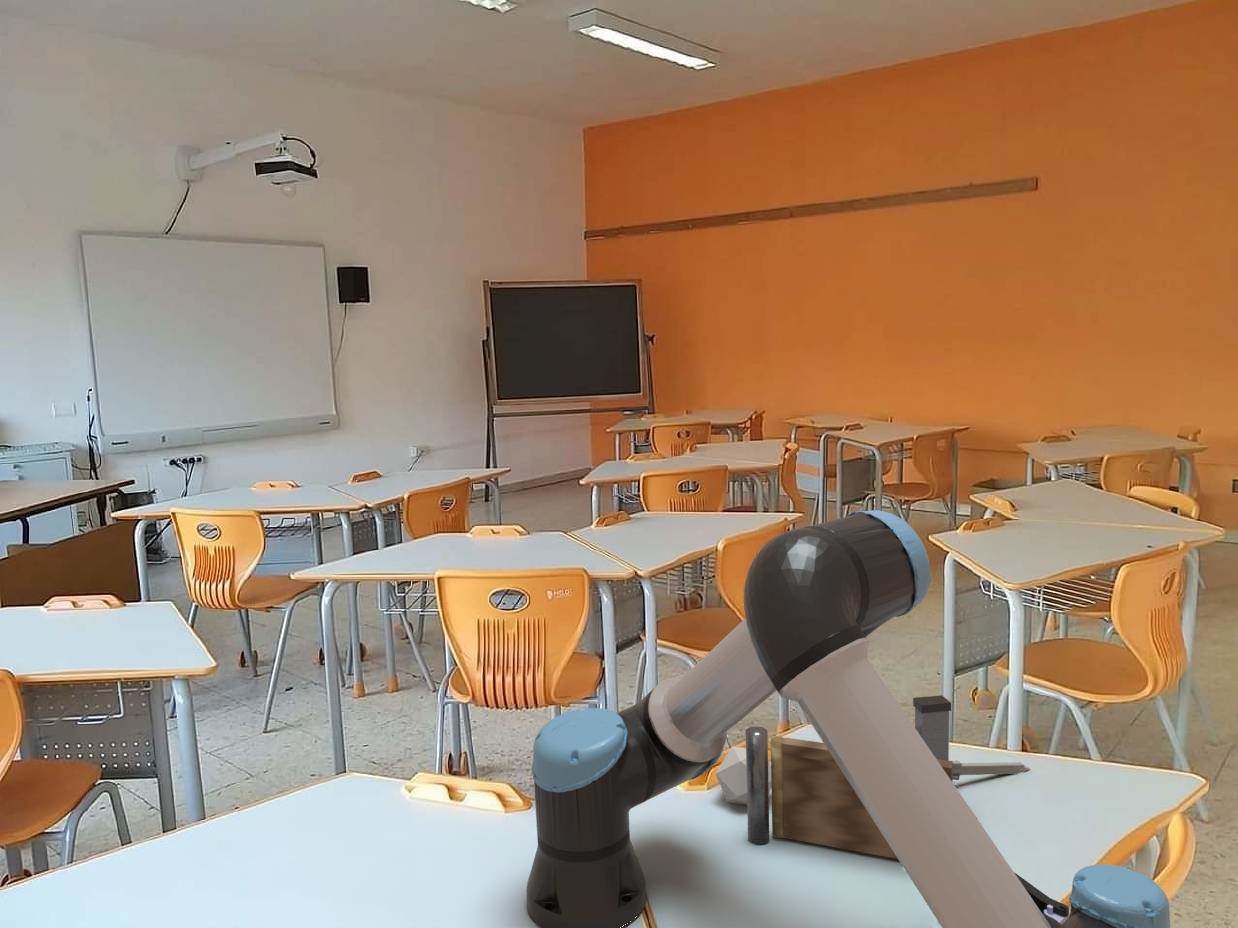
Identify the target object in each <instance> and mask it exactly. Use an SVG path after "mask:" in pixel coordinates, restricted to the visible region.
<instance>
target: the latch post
mask: <svg viewBox="0 0 1238 928" xmlns="http://www.w3.org/2000/svg"><path fill="white" fill-rule="evenodd" d="M912 705H913V707H914V727H915V729H916V730H917V732H918V733H919V735H920V736H921V737H922V739H923V740H924V742H925V743H926V745H927V746H928V748H929V749H930V751H931V752H932V754H933V755H934V756H935V758H936V759H940V760H947V761H950V760H949V758H950V757H949V751H950V750H949V749H950V748H949V747H950V745H949V743H950V740H949V739H950V711H952V702H950V700H949V699H947V698H946V697H945V696H944V695H942V694H941V695H930V696H919V697H918V696H917V697H913V698H912Z"/></svg>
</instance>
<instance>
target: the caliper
mask: <svg viewBox="0 0 1238 928" xmlns="http://www.w3.org/2000/svg"><path fill="white" fill-rule="evenodd" d="M952 761H953V780H956V781H959V780H960V777H961V776H970V775H971V776H976V775H977V776H978V775H979V776H980V775H984V776H985V775H1016V774H1021V772H1022V773H1024V772H1025V771H1026V772H1028V771H1029V770H1030V771H1031V768H1030V767H1028V766H1026V765H1025V764H1023V763H1022V762H966V763H965V762H964V763H962V762H960V761H958V760H952Z"/></svg>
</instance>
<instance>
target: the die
mask: <svg viewBox="0 0 1238 928" xmlns="http://www.w3.org/2000/svg"><path fill="white" fill-rule="evenodd" d="M719 765H720V766H719V767H718V768H717V770H716V772H715V776H716V779H717V781H718V783H719V785H720V787H721V790H722V792H723V794H724V797H725V800H726V801H727V803H730V804H731V803H732V804H738V805H743V806H747V771H746V747H739V746H733V745H731V747H730V749H729V751H728V752H727V754H726V756H725V757H724V759H723V760H722V762H721V764H719ZM768 783H769V792H770V791H772V790H771V762H770V761H769V760H768Z"/></svg>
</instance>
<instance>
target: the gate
mask: <svg viewBox="0 0 1238 928" xmlns="http://www.w3.org/2000/svg"><path fill="white" fill-rule="evenodd" d="M937 761H938V762H939V764H940V765H941V767H942V768H943V770H944V771H945V772H946V774H947V775H948V777H949V778H950V780H951V781H952V783H953V781H954V779H953V761H954V760H949V761H947V760H940V759H937ZM770 765H771V790H770V791H771V830H772V831H771V834H772V836H774V837H775V838H779V839H782V838H784V839H789V840H794V841H799V842H801V841H802V842H806V843H811V844H815V845H821V846H826V847H832V848H839V849H843V850H849V851H853V852H858V853H864V854H865V853H866V854H870V855H875V856H880V857H886V858H891V859H897V860H898V858H897V856H896V855H895V853H894V852H893V850H892V849H891V847H890V846H889V844H888V842H887V841H886V839H885V838H884V836H883V835H882V833H881V832H880V830H879V828H878V827H877V825H876V824H875V822H874V821H873V819H872V818H871V816H870V814H869V813H868V811H867V810H866V808H865V807H864V805H863V803H862V802H861V800H860V799H859V797H858V796H857V794H856V793H855V791H854V789H853V788H852V786H851V785H850V783H849V782H848V780H847V779H846V777H845V775H844V774H843V772H842V771H841V769H840V768H839V766H838V765H837V763H836V761H835V760H834V758H833V757H832V755H831V754H830V752H829V751H828V749H827V747H826V746H825V744H824V743H823V742H820V741H814V740H806V739H797V738H791V737H785V738H784V737H782V736H772V737H771V738H770ZM953 784H954V783H953Z"/></svg>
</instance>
